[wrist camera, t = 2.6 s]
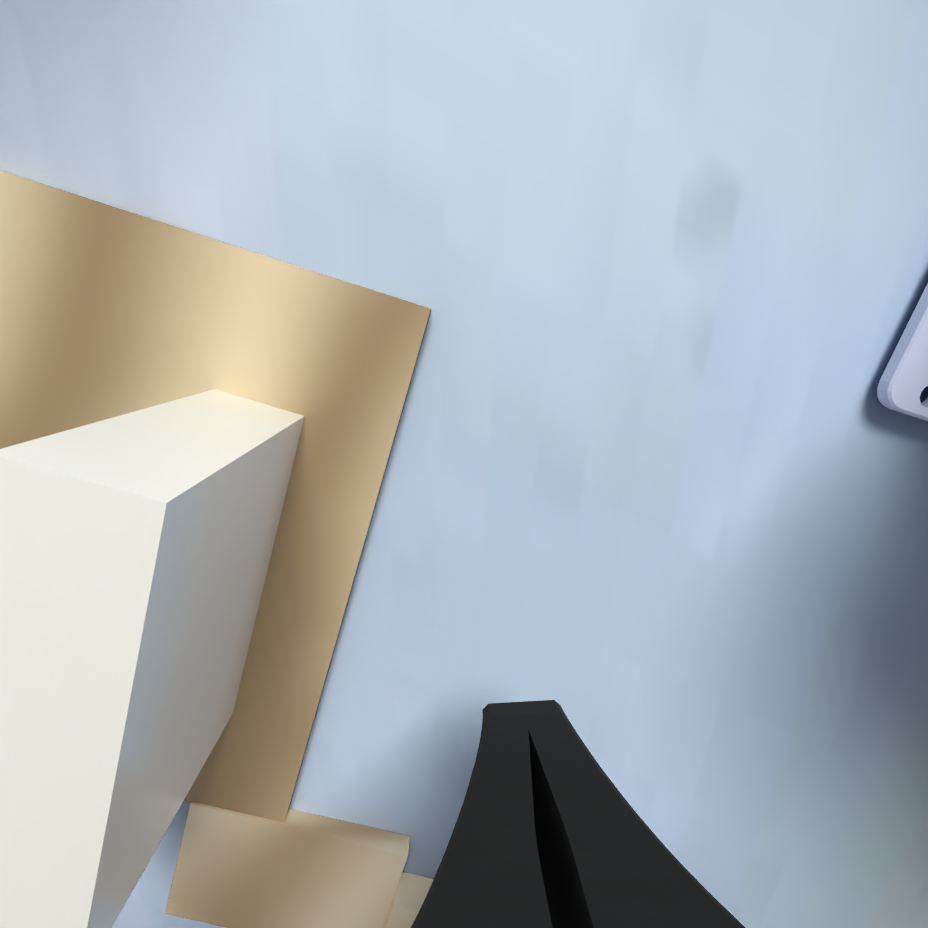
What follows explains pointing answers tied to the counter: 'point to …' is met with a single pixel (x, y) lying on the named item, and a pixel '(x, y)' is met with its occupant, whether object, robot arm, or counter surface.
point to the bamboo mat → (228, 370)
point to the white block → (124, 635)
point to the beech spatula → (292, 873)
